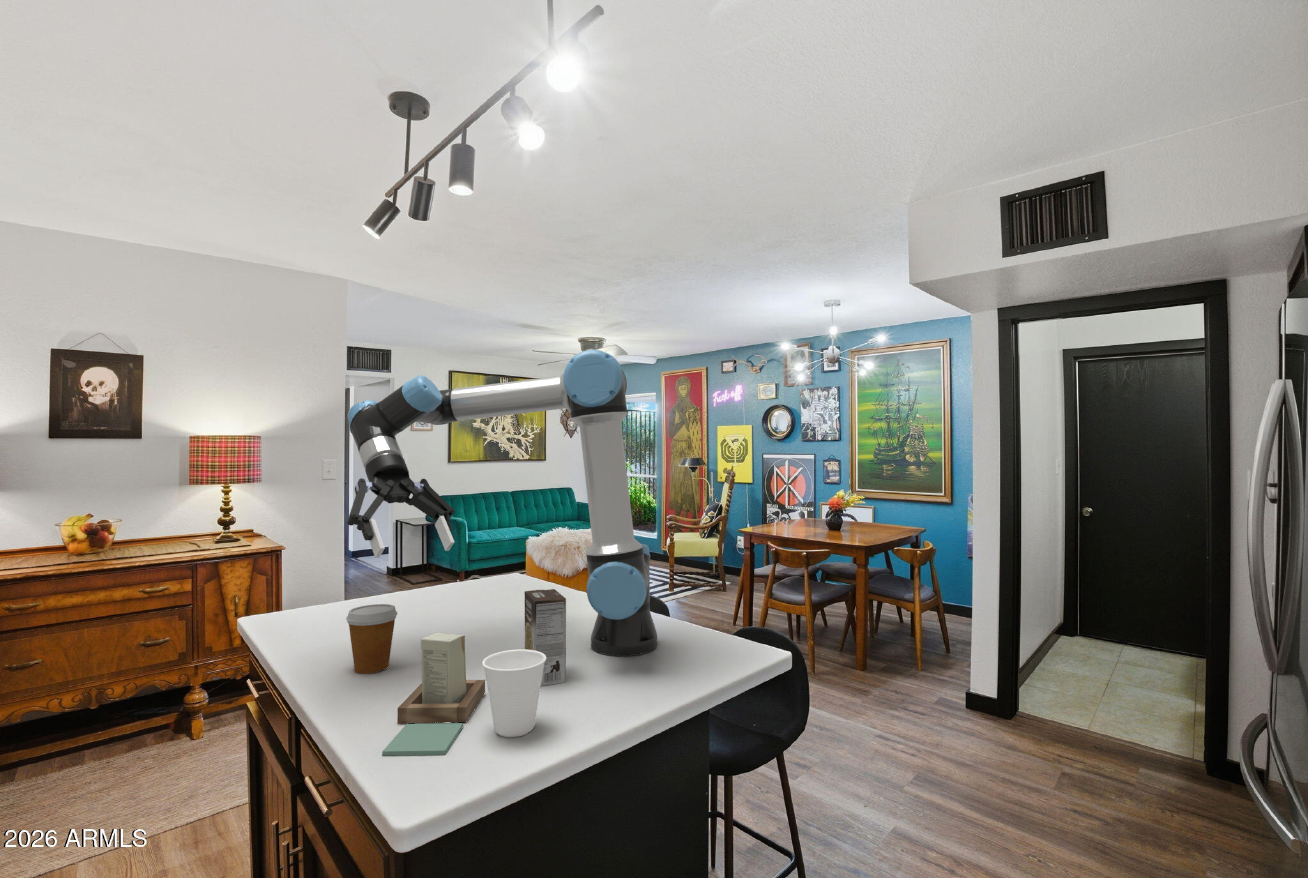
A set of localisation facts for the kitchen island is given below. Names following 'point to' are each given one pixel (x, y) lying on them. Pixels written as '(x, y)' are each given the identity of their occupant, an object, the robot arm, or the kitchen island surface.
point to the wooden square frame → (441, 706)
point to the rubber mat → (423, 739)
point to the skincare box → (443, 668)
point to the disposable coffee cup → (371, 636)
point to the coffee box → (547, 631)
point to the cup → (514, 689)
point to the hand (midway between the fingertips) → (416, 549)
